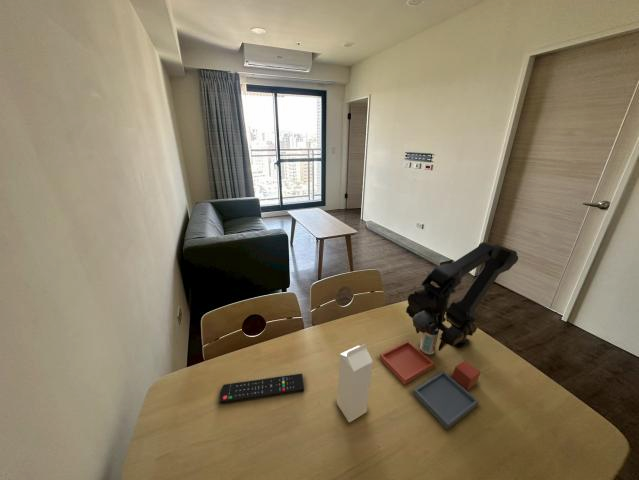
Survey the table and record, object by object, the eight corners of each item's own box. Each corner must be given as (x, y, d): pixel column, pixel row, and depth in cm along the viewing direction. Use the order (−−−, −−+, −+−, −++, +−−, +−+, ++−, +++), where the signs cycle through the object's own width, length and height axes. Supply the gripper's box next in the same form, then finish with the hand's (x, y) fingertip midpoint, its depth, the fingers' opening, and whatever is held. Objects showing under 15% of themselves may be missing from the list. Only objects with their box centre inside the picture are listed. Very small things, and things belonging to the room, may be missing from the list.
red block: (461, 371, 82) (465, 360, 80) (476, 383, 77) (480, 372, 76) (451, 377, 79) (455, 366, 77) (466, 390, 75) (471, 379, 73)
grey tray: (442, 375, 80) (443, 370, 79) (476, 405, 71) (478, 401, 70) (413, 394, 74) (414, 389, 73) (447, 430, 65) (448, 425, 64)
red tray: (407, 344, 92) (407, 340, 91) (433, 367, 83) (434, 363, 82) (379, 358, 86) (380, 354, 85) (404, 385, 77) (405, 380, 76)
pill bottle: (431, 345, 92) (437, 319, 87) (435, 356, 87) (442, 328, 83) (418, 344, 92) (423, 318, 87) (421, 354, 88) (427, 327, 83)
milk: (366, 412, 69) (375, 352, 61) (348, 423, 66) (355, 362, 58) (353, 393, 74) (359, 335, 65) (336, 403, 71) (340, 344, 63)
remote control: (304, 392, 74) (304, 388, 74) (218, 405, 70) (218, 402, 70) (302, 376, 79) (302, 373, 78) (222, 388, 75) (221, 384, 74)
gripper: (398, 295, 86) (392, 331, 92) (447, 330, 71) (436, 370, 77) (420, 287, 91) (413, 322, 97) (470, 318, 76) (458, 356, 82)
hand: (428, 341), depth 88 cm, fingers open, 9 cm apart
